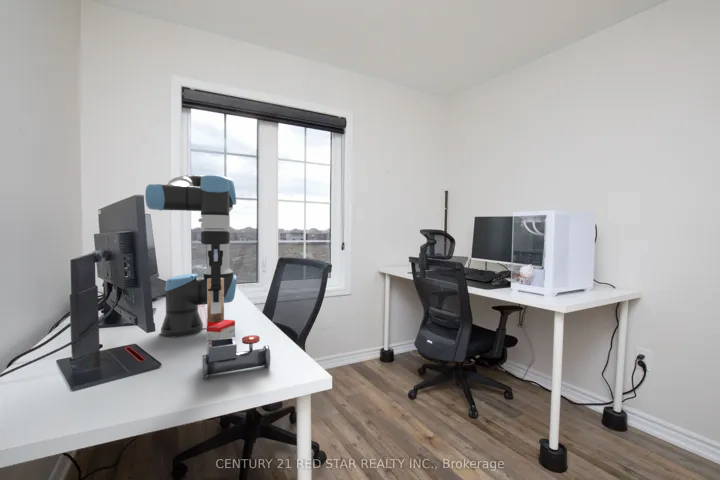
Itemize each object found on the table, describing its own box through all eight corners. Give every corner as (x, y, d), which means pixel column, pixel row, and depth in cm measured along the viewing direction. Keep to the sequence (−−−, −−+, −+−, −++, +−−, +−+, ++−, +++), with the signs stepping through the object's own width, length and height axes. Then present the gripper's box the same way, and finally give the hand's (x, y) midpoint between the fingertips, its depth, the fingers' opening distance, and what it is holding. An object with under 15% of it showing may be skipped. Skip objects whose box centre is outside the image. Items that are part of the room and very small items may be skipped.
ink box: (220, 364, 101) (219, 318, 100) (206, 363, 102) (205, 317, 101) (235, 354, 109) (235, 311, 108) (222, 352, 110) (222, 310, 109)
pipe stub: (207, 318, 94) (207, 278, 93) (223, 317, 95) (223, 277, 95) (207, 322, 90) (206, 280, 89) (224, 321, 91) (224, 279, 91)
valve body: (202, 383, 88) (202, 348, 88) (202, 372, 95) (202, 340, 94) (270, 371, 96) (270, 339, 96) (266, 361, 103) (266, 332, 102)
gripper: (201, 230, 98) (202, 305, 99) (199, 230, 82) (200, 320, 83) (228, 230, 101) (228, 303, 102) (231, 230, 85) (231, 317, 86)
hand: (215, 310), depth 92 cm, fingers closed on pipe stub, 4 cm apart
